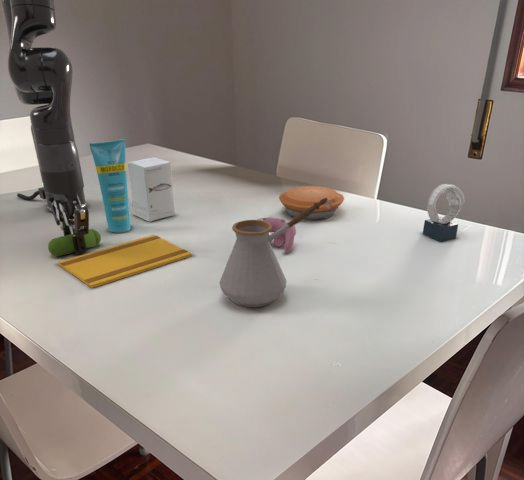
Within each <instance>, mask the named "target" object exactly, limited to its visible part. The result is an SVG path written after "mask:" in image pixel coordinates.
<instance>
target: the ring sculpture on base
mask: <svg viewBox="0 0 524 480" xmlns="http://www.w3.org/2000/svg"><path fill="white" fill-rule="evenodd" d="M441 195H443V196H444V198H445V200H446V201H447V202H448V206H449V207H450V208H449V209H448V211H447V213H446V214H445V216H444V215H443V217H442V216H439V213H438V209H437V201H438V199H439V198H440V196H441ZM465 202H466V196H465V195H464V193H463V191H462V189H460V187H458V186H457V185H455V184H452V183H450V184H448V183H441V184H439V185H437V186H436V187H434V189H433V190H432V191H431V192H430V195H429V197H428V199H427V204H426V211H427V214H428V217H429V218H428V219H424V223H423V230H422V235H424V236H426V237H429V238H430V239H432V240H435V241H437V242H440V243H442V242H447V241H451V240H455V239H456V238H457V233H458V229H459V223H456V222H454V221H453V220H454V219H455V218H456V217H457V216H458V215H459V212H460V211H461V210H462V208H463V205H464V203H465Z"/></svg>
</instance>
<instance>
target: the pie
mask: <svg viewBox="0 0 524 480" xmlns="http://www.w3.org/2000/svg"><path fill="white" fill-rule="evenodd" d="M324 198H327V199H328V200H329V201H330V203H331V205H332V208H331V205H330V203H329V202H328V201H326V203H325V204H326V205H327V206H328V207H329V208H330V209H329V208H327V207H326V206H325V205H324V204H323V205H321V206H320V207H319V209H318V210H317V209H316V210H314V211H313V212H312V213H311V214H310V215H309V216H308V217H307V218H305V219H304V220H307V221H309V220H311V221H316V220H323V219H328V218H331V217H332V216H333V215H334V214H335V213H336V212H337V210H338V209H339V207H340V206H341V205H342V204H343V202H344V201H345V196H344V194H341V193H339V192H338V191H336V190H334V189H332V188H328V187H323V186H316V185H315V186H314V185H311V186H310V185H307V186H306V185H305V186H297V187H293V188H290V189H288V190H286V191H284V192H282V193H280V194H279V196H278V199H279V201H280V203H281V204H282V205H283V207H284V208H285V210H286V212H287V214H289V216H291V217H293V218H295V217H296V216H297V215H299V214H300V213H301V212H302V211H304V210H306V209H308V208H310V207H312V206H313V205H314V203H318V202H320V200H322V199H324Z"/></svg>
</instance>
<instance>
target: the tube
mask: <svg viewBox="0 0 524 480" xmlns="http://www.w3.org/2000/svg"><path fill="white" fill-rule="evenodd" d="M89 149H90V152H91V155H92V158H93V159H92V160H93V163H94V166H95V171H96V175H97V179H98V185H99V189H100V192H101V193H100V194H101V198H102V203H103V208H104V213H105V217H106V225H107V229H108V231H109V232H111V233H117V234H118V233H125V232H128V231H130V230H131V228H132V225H131V214H130V205H129V203H130V201H129V193H128V192H129V191H128V176H127V160H126V159H127V158H126V138H122V139H116V140H110V141H109V140H108V141H102V142H101V141H100V142H90V143H89Z"/></svg>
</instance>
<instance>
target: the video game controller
mask: <svg viewBox="0 0 524 480" xmlns="http://www.w3.org/2000/svg"><path fill="white" fill-rule="evenodd" d="M256 220H262V221H266V222H268V223H270V224H271V226H272V228H271V230H270V231H269V233H274V232H276V231H277V230H279V229H280V228H282V227H283V226H285V225H286V224H287V223H288V222H289V221H288V220H285V219H283V218H279V217H271V216H270V217H263V218H262V217H261V218H257V219H256ZM269 233H268V236H270V235H271V234H269ZM296 234H297V229H296V226H295V225H294V226H292V227H290V228H288V229H287V230H286V231H284V232H283V233H281V234H280V235H279V236H277V237H276V238H275V239H273V244H274V245H275V246H276V247H279V248H282V247H284V252H285V254H289V253H290V252H291V250H292V248H293V246H294V242H295V237H296Z"/></svg>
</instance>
